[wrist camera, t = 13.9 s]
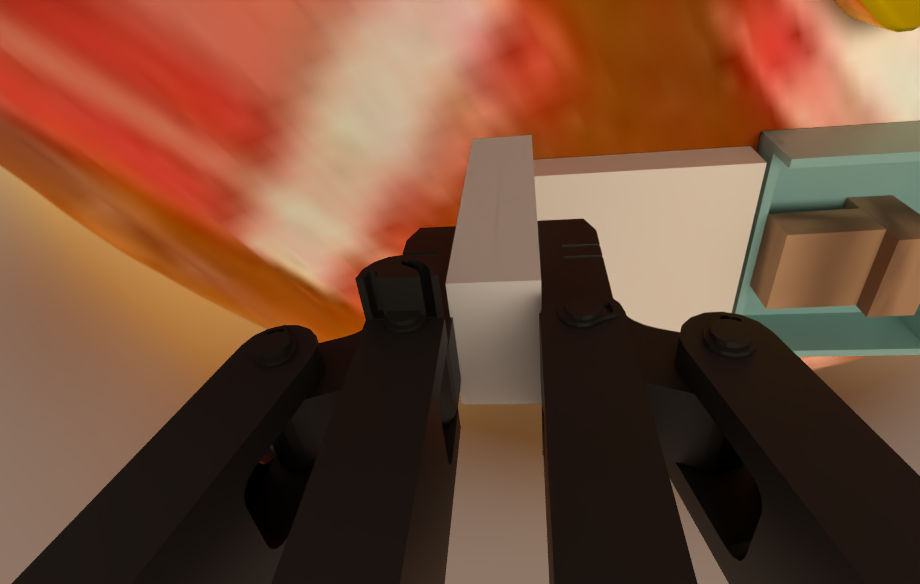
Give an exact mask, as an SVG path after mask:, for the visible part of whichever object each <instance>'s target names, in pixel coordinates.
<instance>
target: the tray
mask: <svg viewBox="0 0 920 584" xmlns="http://www.w3.org/2000/svg"><path fill="white" fill-rule="evenodd" d="M757 153H758V154H759V155H760V156H761V157H762V158H763V159H764V160H765V161H766V162H767V164H766V168H765V173H764V177H763V181H762V185H761V190H760V194H759V198H758V202H757V207H756V211H755V215H754V220H753V224H752V228H751V232H750V237H749V241H748V245H747V249H746V254H745V258H744V262H743V266H742V271H741V275H740V279H739V284H738V288H737V292H736V296H735V301H734V305H733V309H732V313H734V314H740V315H743V316H746V317H748V318H751V319H753V320H756V321H758V322H760V323H761V324H763V325H764V326H766V327H767V328H768V329H770V330H771V331H773V332H774V333H775V334H776V335H777V336H778V337H779V338H780V339H781V340H782V341H783V342H784V343H785V344H786V345H787V346H788V347H789V348H790V349H791V350H792V351H793V352H794V353H795V354H796V355H797V356H798V357H811V356H873V355H920V304H919V306H918V308H917V310H916V312H915V315H907V316H883V317H866V316H865V315H864V314H863V313H862V311H861V310H860V309H859V308H858V307H857V306H856V305H852V306H829V307H807V308H785V309H766V308H765V307H764V306H763V304H762V303H761V301H760V300H759V298H758V297H757V295H756V294H755V292H754V291H753V289H752V288H751V287H750V282H751V278H752V274H753V270H754V267H755V263H756V259H757V255H758V251H759V247H760V243H761V239H762V235H763V231H764V227H765V223H766V219H767V216H768V214H774V213H790V212H807V211H823V210H840V209H844V206H845V203H846V200H847V198H853V197H869V196H885V195H893V196H895V197H896V198H898V199H899V200H900V201H902V202H903V203H905V204H906V205H907V206H909V207H910V208H911V209H913V210H914V211H916V212H917V213H918V214H920V121H909V122H894V123H879V124H864V125H848V126H833V127H818V128H803V129H788V130H772V131H761V135H760V139H759V144H758V149H757Z"/></svg>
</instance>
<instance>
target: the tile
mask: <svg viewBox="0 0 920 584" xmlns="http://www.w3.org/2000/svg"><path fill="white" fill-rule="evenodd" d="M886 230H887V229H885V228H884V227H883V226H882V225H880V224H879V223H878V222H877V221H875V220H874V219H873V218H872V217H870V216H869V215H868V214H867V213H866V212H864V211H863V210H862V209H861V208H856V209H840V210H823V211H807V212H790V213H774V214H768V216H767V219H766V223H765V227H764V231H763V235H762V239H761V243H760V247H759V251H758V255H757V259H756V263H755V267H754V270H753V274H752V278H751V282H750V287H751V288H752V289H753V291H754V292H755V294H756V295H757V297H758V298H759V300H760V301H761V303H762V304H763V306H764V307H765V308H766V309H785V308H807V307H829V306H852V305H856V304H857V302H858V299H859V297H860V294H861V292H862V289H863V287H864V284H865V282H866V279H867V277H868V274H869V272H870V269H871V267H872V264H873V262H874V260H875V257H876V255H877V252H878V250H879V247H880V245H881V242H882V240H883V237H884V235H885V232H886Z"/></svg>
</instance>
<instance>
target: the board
mask: <svg viewBox="0 0 920 584" xmlns="http://www.w3.org/2000/svg"><path fill="white" fill-rule="evenodd" d="M533 164H534V179H535V194H536V209H537V221H542V220H563V219H584V220H586V221H587V222H588V223H589V224H590V225H591V226H592V227H594V228H595V229H596V231H597V235H598V239H599V243H600V247H601V251H602V258H603V259H604V263H605V267H606V271H607V275H608V279H609V283H610V288H611V292H612V296H613V299H615V300H616V301H618V302H619V303H620V304H621V306H622V307H623V309H624V311H625V312H626V316H628V317H629V318H631V319H632V320H634V321H637V322H639V323H641V324H644V325H647V326H651V327H655V328H660V329H665V330H670V331H676V332H680V331H681V326H682V325H683V324H684V323H685V322H686V321H687V320H688V319H689V318H690V317H693V316H696V315H699V314H702V313H705V312H728V313H732V309H733V305H734V301H735V296H736V292H737V288H738V284H739V279H740V275H741V271H742V266H743V262H744V258H745V254H746V249H747V245H748V241H749V237H750V232H751V228H752V224H753V220H754V215H755V211H756V207H757V202H758V198H759V194H760V190H761V185H762V181H763V177H764V173H765V168H766V164H767V162H766V161H765V160H764V159H763V158H762V157H761V156H760V155H759V154H758V153H757V152H756V151H755V150H754V149H753V148H752V147H751V146H743V147H727V148H711V149H695V150H679V151H663V152H647V153H631V154H616V155H600V156H584V157H568V158H552V159H536V160H533Z"/></svg>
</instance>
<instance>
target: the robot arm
mask: <svg viewBox="0 0 920 584" xmlns="http://www.w3.org/2000/svg"><path fill="white" fill-rule="evenodd" d="M356 283H357V287H358V290H359V294H360V298H361V302H362V306H363V310H364V314H365V318H366V321H365V324H364V327H363V330H362V331H360V332H358V333H356V334H352V335H349V336H346V337H343V338H339V339H335V340H330V341H326V342H322V343H318V340H317V337H316V335H315V334H314V333H313V332H312V331H311V330H310V329H308V328H305V327H302V326H299V325H283V326H279V327H274V328H271V329H267V330H265V331H263V332H261V333H259V334H257V335H255V336H253V337H252V338H250V339H249V340H248V341H247V342H246V343H244V344H243V345H241V347H240V348H239V349H238V350H237V351H236V352H235V353H234V354H233V355H232V356H231V357H230V358H229V359H228V360H227V361H226V362H225V363H224V364H223V365H222V366H221V367H220V369H218V370H217V371H216V372H215V374H214V375H213V376H212V377H211V378H210V379H209V380H208V381H207V382H206V383H205V384H204V385H203V386H202V387H201V388H200V389H199V390H198V391H197V392H196V393H195V394H194V395H193V396H192V397H191V398H190V399H189V400H188V402H187V403H186V404H185V405H184V406H183V407H182V408H181V409H180V410H179V411H178V412H177V413H176V414H175V415H174V416H173V417H172V418H171V419H170V420H169V421H168V422H167V423H166V424H165V425H164V426H163V427H162V428H161V429H160V430H159V431H158V433H157V434H156V435H155V436H154V437H153V438H152V439H151V440H150V441H149V442H148V443H147V444H146V445H145V446H144V447H143V448H142V449H141V450H140V451H139V452H138V453H137V454H136V455H135V456H134V458H132V459H131V460H130V462H129V463H128V464H127V465H126V466H125V467H124V468H123V469H122V470H121V471H120V472H119V473H118V474H117V475H116V476H115V477H114V478H113V479H112V480H111V481H110V482H109V483H108V484H107V485H106V486H105V487H104V488H103V490H102V491H101V492H100V493H99V494H98V495H97V496H96V497H95V498H94V499H93V500H92V501H91V502H90V503H89V504H88V505H87V506H86V507H85V508H84V509H83V510H82V511H81V512H80V513H79V514H78V516H77V517H76V518H75V519H74V520H73V521H72V522H71V523H70V524H69V525H68V526H67V527H66V528H65V529H64V530H63V531H62V532H61V533H60V534H59V535H58V536H57V537H56V538H55V540H53V541H52V542H51V543H50V545H48V547H47V548H46V549H45V550H44V551H43V552H42V553H41V554H40V555H39V556H38V557H37V558H36V559H35V560H34V561H33V562H32V563H31V564H30V565H29V566H28V567H27V568H26V569H25V571H23V572H22V573H21V575H19V577H18V578H17V579H16V580H15V581H14V582H13V583H12V584H445V574H446V564H447V555H448V545H449V535H450V526H451V525H450V524H451V516H452V506H453V496H454V487H455V476H456V468H457V458H458V447H459V439H460V429H461V426H460V420H459V412H458V402H459V393H460V392H461V399H462V404H542V440H543V455H544V476H545V496H546V497H545V498H546V520H547V541H548V561H549V562H548V563H549V583H550V584H697V581H696V577H695V573H694V569H693V565H692V562H691V558H690V554H689V551H688V546H687V543H686V539H685V536H684V531H683V528H682V524H681V520H680V516H679V512H678V509H677V505H676V501H675V497H674V493H673V490H672V486H671V482H670V479H671V481H672V483H673V485H674V486H675V488H676V490H677V492H678V494H679V495H680V497H681V499H682V501H683V502H684V504H685V506H686V508H687V510H688V511H689V513H690V515H691V517H692V518H693V520H694V522H695V524H696V526H697V527H698V529H699V531H700V533H701V535H702V536H703V538H704V540H705V541H706V543H707V545H708V547H709V549H710V551H711V552H712V554H713V556H714V558H715V560H716V561H717V563H718V565H719V566H720V568H721V570H722V572H723V574H724V576H725V577H726V579H727V581H728V582H729V584H920V476H919V475H918V474H917V473H916V472H915V471H914V470H913V469H912V468H911V467H910V466H909V465H908V464H907V463H906V462H905V461H904V460H903V459H902V458H901V457H900V456H899V455H898V454H897V453H896V452H895V451H894V450H893V449H892V448H891V447H890V446H889V445H888V444H887V443H886V442H885V441H884V440H883V439H882V438H880V437H879V436H878V435H877V434H876V433H875V432H874V431H873V430H872V429H871V428H870V427H869V426H868V425H867V424H866V423H865V422H864V421H863V420H862V419H861V418H860V417H859V416H858V415H857V414H856V413H855V412H854V411H853V410H852V409H851V408H850V407H849V406H848V405H847V404H846V403H845V402H844V401H843V400H842V399H841V398H840V397H839V396H838V395H837V394H836V393H835V392H834V391H833V390H832V389H831V388H830V387H828V385H827V384H826V383H825V382H824V381H823V380H821V379H820V378H819V377H818V376H817V375H816V374H815V373H814V372H813V371H812V370H811V369H810V368H809V367H808V366H807V365H806V364H805V363H804V362H803V361H802V360H801V359H800V358H799V357H798V356H797V355H796V354H795V353H794V352H793V351H792V350H791V349H790V348H789V347H788V346H787V345H786V344H785V343H784V342H783V341H782V340H781V339H780V338H779V337H778V336H777V335H776V334H775V333H774V332H773V331H771V330H770V329H768V328H767V327H766V326H764V325H763V324H761V323H760V322H758V321H756V320H753V319H751V318H748V317H746V316H743V315H740V314H734V313H728V312H705V313H702V314H699V315H696V316H693V317H690V318H689V319H688V320H687V321H686V322H685V323H684V324H683V325H682V326H681V331H680V332H676V331H670V330H665V329H660V328H655V327H651V326H647V325H644V324H641V323H639V322H637V321H634V320H632V319H631V318H629V317H628V316H626V312H625V311H624V309H623V307H622V306H621V304H620V303H619V302H618V301H616V300H615V299H613V296H612V292H611V288H610V283H609V279H608V275H607V271H606V267H605V263H604V259H603V258H602V251H601V247H600V243H599V239H598V235H597V231H596V229H595V228H594V227H592V226H591V225H590V224H589V223H588V222H587V221H586V220H584V219H563V220H542V221H537V209H536V194H535V179H534V164H533V149H532V135H524V136H509V137H494V138H480V139H473V140H472V145H471V150H470V156H469V161H468V166H467V172H466V177H465V182H464V188H463V193H462V198H461V204H460V209H459V214H458V220H457V225H456V226H454V227H433V228H420V229H419V230H418V231H417V232H415V233H414V234H413V235H412V236H411V237H410V238H409V239H408V240H407V242H406V245H405V248H404V251H403V255H400V256H393V257H388V258H385V259H382V260H379V261H376V262H374V263H372V264H371V265H369V266H367V267H366V268H364V269H363V270H362V271H361V272H360V274H359V275H358V276H357V277H356ZM669 477H670V478H669Z"/></svg>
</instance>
